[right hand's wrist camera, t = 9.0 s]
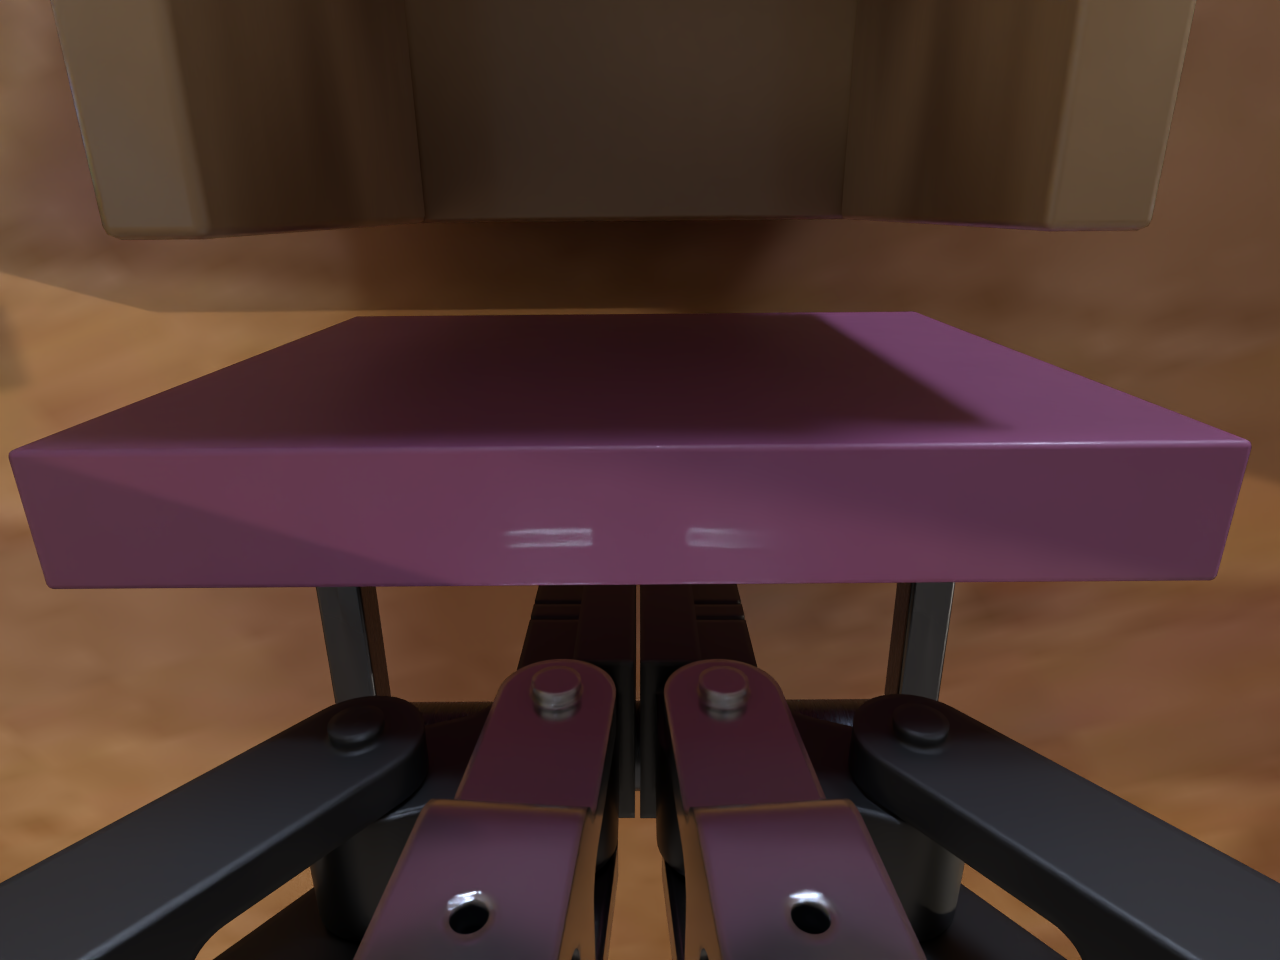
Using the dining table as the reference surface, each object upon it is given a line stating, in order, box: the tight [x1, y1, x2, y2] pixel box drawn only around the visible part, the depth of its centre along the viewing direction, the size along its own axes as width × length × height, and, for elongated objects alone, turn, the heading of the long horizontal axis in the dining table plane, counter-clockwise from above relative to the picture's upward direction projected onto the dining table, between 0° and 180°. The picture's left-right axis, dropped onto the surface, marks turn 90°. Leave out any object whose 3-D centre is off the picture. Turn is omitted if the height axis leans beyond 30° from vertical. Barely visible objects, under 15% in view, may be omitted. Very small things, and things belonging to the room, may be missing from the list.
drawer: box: [9, 0, 1251, 791], centre depth 8 cm, size 19×10×8 cm, turn 1°
